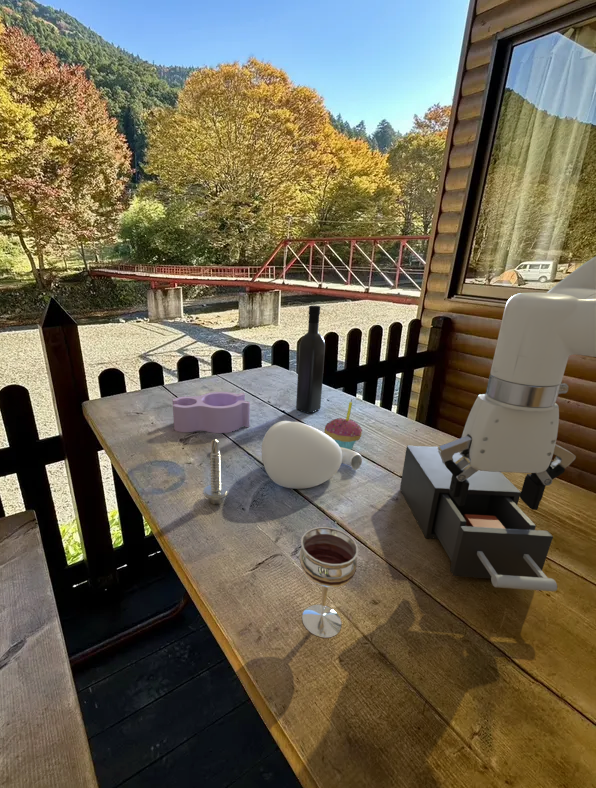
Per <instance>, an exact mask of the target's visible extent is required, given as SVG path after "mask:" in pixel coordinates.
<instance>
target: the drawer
mask: <svg viewBox="0 0 596 788" xmlns="http://www.w3.org/2000/svg"><path fill="white" fill-rule="evenodd" d="M464 514H471V515H489V516H496V517H497V519H498V520H499V521H500V522H501V523H502V525H503V526H504V527H505V528H506V529H504V528H486V527H469V526H466V520H465V519H464ZM536 527H537V525H536V524H535V523H534V522H533V521H532V520H531V518H530V517H529V516H528V515H527V514H526V513H525V512H524V511H523V510H522V509H521V508H520V507H519V505H518V504H517V505H516V504H515V503H514V502H513V500H512V499H511V498H510V497H509V496H497V495H477V494H467V497H466V502H465V505H463V506H459V505H458V504H457V503H456V501H455V500H454V498H453V497H452V496H451V495H450V493H439V498H438V502H437V507H436V512H435V517H434V522H433V527H432V528H433V530H434V532H435V533H436V535H437V537H438V539H437V540H438V541H439V542H440V544H441V546H442V548H443V549H444V551H445V553H446V555H447V557H448V558H449V560H450V562H451V564H450V568H449V571H450V573H451V575H452V576H453V577H464V578H477V579H489V580H490V581H491V584H492V586H493V587H494V588H500V589H501V588H502V589H515V590H516V589H517V590H528V591H541V592H542V591H543V592H556V591H558V583H557V582H556V580H555V579H554V578H553V577H552V578H551V577H548V576H547V574H545V573H544V571H543V570H544V566H545V563H546V560H547V557H548V554H549V551H550V547H551V546H552V545H551V544H552V541H553V538H554V536H553V535H552V534H551V533H550V531H548V530H538V529H537V530H536Z"/></svg>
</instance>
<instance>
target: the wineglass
mask: <svg viewBox="0 0 596 788" xmlns="http://www.w3.org/2000/svg"><path fill="white" fill-rule="evenodd" d="M300 544H301V545H300V547H301V548H300V550H299V555H298V557H299V562H300V566H301V569H302V571H303V572H302V573H304V575H305V577H307V578H308V579H309V580H310V581H312V583H315V584H316V585H317V586H320V587H321V601H320V604H312V605H309V606H308V607H306V608H305V609H304V610H303V612H302V616H301V619H302V620H301V621H302V624H303V626H304V627H305V629H306V630H308V632H309V633H311V634H312V635H314V636H316V637H320V638H332V637H335V636H336V635H338V634H339V633H340V632H341V629H342V623H343V622H342V620H341V617H340V616H339V614H338V613H337V612H336V611H335V610H334V609H333V608H331V607H329V606H328V605H326V603H327V597H328V590H329V589H333V588H340V587H343V586H345V585H347V584H348V583H349V582H351V581H352V579H353V577H354V576H355V574H356V572H357V567H358V559H357V556H358V555H359V546H358V545H357V542H356V540H354V538H353V537H352V536H351V535H349V534H348V533H346V532H345V531H343V530H340V529H338V528H335V527H330V526H329V527H328V526H317V527H314V528H310V529H309V530H307V531H305V532H304V533H303V535H302V536H301V539H300Z"/></svg>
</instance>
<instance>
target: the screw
mask: <svg viewBox="0 0 596 788" xmlns="http://www.w3.org/2000/svg"><path fill="white" fill-rule="evenodd" d="M210 443H211V452H210V456H209V457H210V484H209V485H206V486H205V487H204V488H203V490H202V491H203V492H202V493H203V496H204V497H205V498H206V499H208V502H210V503H211V504H212V505H221V504H222V503H223V502H224V499H225V498H227V497H228V496H229V495H230V489H229V487H227V486H226V485H224V484H223V483H222V482H221V481H222V477H221V475H222V471H221V469H222V468H221V451H220V444H219V443H220V442H219V440H218V439H217V438H214V439H212V440H211V441H210Z"/></svg>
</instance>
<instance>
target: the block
mask: <svg viewBox="0 0 596 788" xmlns="http://www.w3.org/2000/svg"><path fill="white" fill-rule="evenodd" d="M464 519H465V520H466V526H469V527H486V528H504V529H506V528H505V527H504V526H503V525H502V523H501V522H500V521H499V520H498V519H497V517H496V516H489V515H471V514H464Z"/></svg>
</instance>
